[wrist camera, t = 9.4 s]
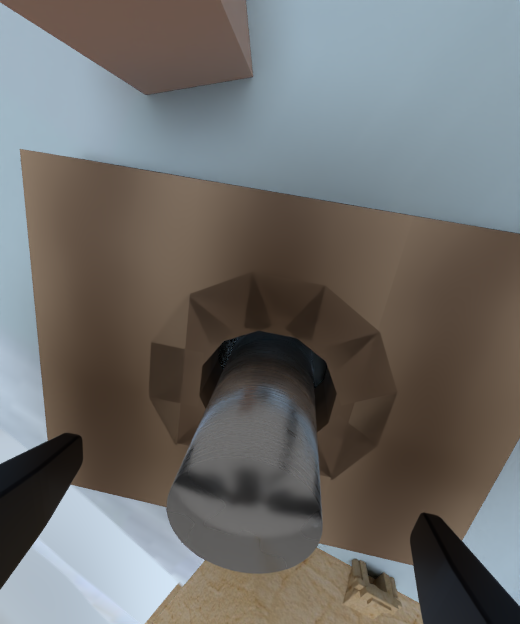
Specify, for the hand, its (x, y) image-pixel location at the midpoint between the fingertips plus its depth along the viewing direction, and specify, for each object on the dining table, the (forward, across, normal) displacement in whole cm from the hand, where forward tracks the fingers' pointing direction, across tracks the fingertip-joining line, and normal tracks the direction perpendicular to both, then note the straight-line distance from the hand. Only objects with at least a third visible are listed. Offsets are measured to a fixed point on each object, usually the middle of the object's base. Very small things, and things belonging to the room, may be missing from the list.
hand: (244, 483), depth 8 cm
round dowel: (+7, 0, 0) cm, 7 cm away
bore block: (+7, 0, 0) cm, 7 cm away
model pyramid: (+8, -5, +20) cm, 22 cm away
